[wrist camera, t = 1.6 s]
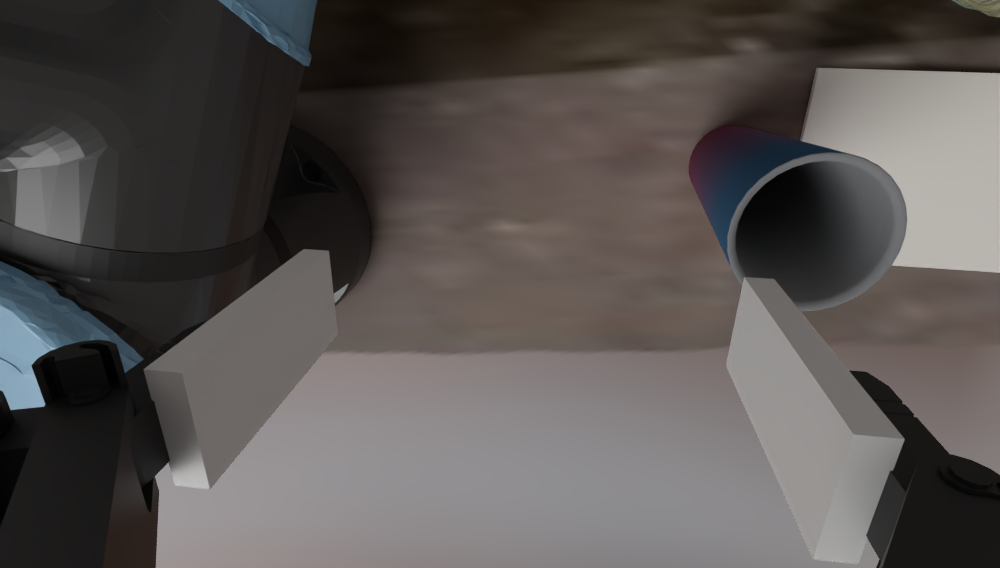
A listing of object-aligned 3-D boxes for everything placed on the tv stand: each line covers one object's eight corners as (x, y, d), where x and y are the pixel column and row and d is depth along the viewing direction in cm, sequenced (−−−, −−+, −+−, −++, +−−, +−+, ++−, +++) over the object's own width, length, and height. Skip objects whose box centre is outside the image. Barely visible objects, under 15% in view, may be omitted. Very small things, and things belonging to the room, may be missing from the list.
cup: (681, 224, 39) (735, 323, 25) (667, 124, 36) (718, 173, 23) (788, 203, 37) (907, 297, 24) (781, 98, 35) (908, 133, 21)
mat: (773, 255, 39) (775, 257, 38) (816, 67, 34) (819, 68, 34) (1030, 272, 37) (1034, 274, 36) (1114, 76, 32) (1119, 76, 32)
